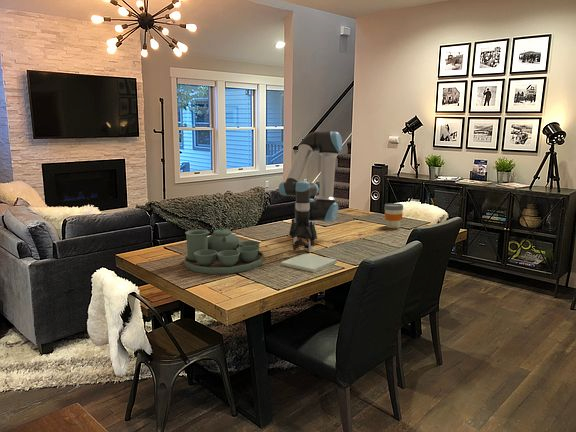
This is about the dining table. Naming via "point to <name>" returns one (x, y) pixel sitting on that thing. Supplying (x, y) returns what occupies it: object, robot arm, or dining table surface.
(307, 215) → the robot arm
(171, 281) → the dining table surface
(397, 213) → the reusable coffee cup
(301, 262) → the sage tile
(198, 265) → the tea set
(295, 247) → the pottery mug
